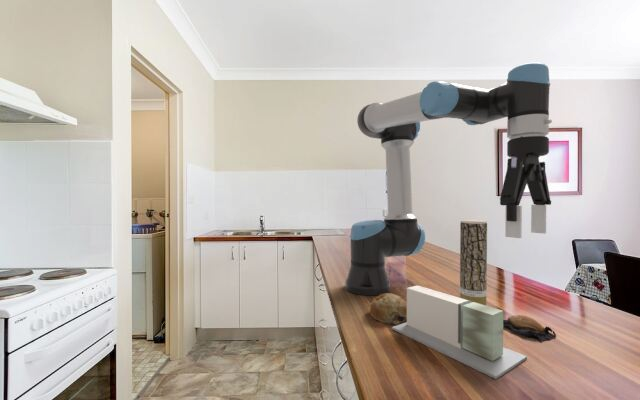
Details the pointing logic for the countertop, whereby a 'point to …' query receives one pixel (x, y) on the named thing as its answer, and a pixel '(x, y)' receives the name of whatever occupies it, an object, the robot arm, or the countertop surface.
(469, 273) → the paper tube
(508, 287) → the countertop surface
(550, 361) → the countertop surface
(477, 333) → the pale green block
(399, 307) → the bread roll
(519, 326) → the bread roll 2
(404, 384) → the countertop surface
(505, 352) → the block
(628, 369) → the countertop surface
